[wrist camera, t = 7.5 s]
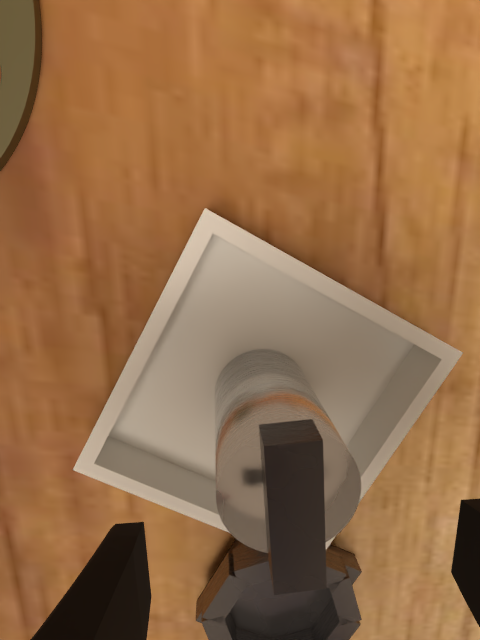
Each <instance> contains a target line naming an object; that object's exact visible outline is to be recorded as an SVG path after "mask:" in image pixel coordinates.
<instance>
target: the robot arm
mask: <svg viewBox="0 0 480 640" xmlns="http://www.w3.org/2000/svg"><path fill="white" fill-rule="evenodd" d="M451 573H452V575H453V577H454V579H455V581H456V583H457V585H458V587H459V589H460V591H461V593H462V595H463V597H464V599H465V601H466V603H467V605H468V606H469V608H470V610H471V612H472V614H473V616H474V618H475V620H476V621H477V623H478V625H479V627H480V499H469V500H461V505H460V512H459V520H458V527H457V534H456V542H455V549H454V556H453V564H452V571H451ZM150 603H151V589H150V580H149V570H148V560H147V550H146V540H145V531H144V522H138V523H123V524H115V525H114V526H113V527H112V528H111V529H110V531H109V532H108V534H107V535H106V537H105V538H104V540H103V541H102V543H101V544H100V546H99V547H98V549H97V550H96V552H95V553H94V555H93V556H92V557H91V559H90V560H89V562H88V563H87V565H86V566H85V568H84V569H83V570H82V572H81V573H80V575H79V576H78V577H77V579H76V580H75V582H74V583H73V584H72V586H71V587H70V589H69V590H68V591H67V593H66V594H65V595H64V597H63V598H62V599H61V601H60V602H59V603H58V605H57V606H56V607H55V609H54V610H53V611H52V613H51V614H50V615H49V617H48V618H47V620H46V621H45V622H44V623H43V625H42V626H41V627H40V629H39V630H38V631H37V632H36V634H35V635H34V636H33V637H32V639H31V640H146V638H147V630H148V621H149V612H150Z"/></svg>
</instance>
